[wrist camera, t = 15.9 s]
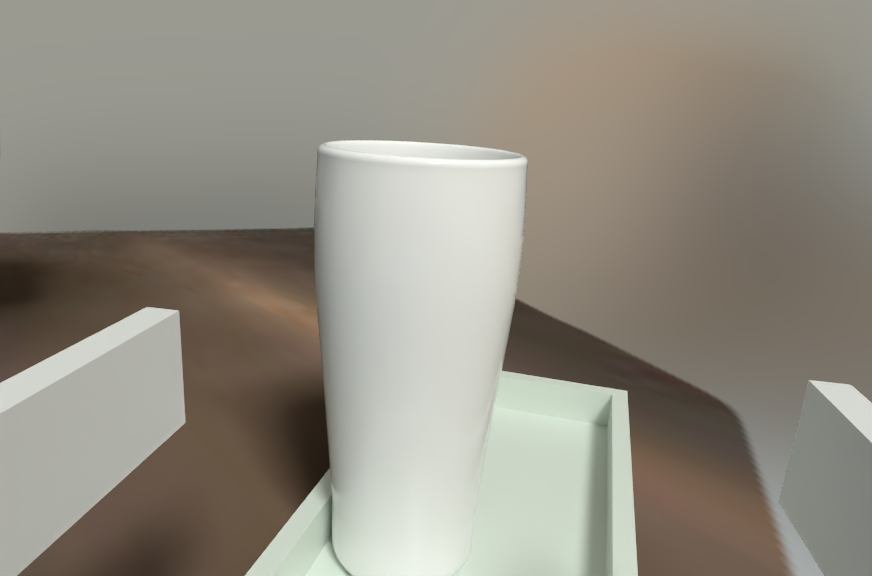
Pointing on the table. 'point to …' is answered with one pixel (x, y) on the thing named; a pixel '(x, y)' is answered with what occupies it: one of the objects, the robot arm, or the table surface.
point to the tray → (518, 491)
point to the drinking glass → (412, 340)
